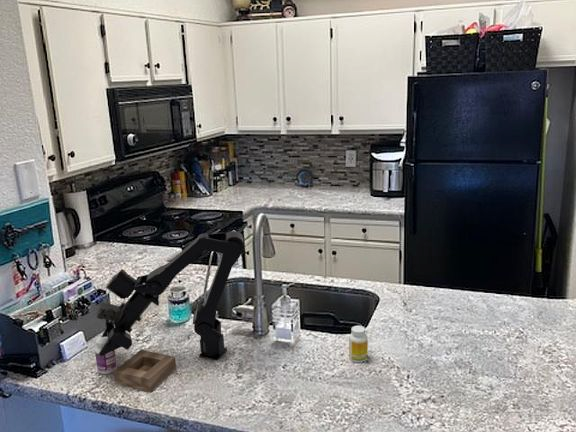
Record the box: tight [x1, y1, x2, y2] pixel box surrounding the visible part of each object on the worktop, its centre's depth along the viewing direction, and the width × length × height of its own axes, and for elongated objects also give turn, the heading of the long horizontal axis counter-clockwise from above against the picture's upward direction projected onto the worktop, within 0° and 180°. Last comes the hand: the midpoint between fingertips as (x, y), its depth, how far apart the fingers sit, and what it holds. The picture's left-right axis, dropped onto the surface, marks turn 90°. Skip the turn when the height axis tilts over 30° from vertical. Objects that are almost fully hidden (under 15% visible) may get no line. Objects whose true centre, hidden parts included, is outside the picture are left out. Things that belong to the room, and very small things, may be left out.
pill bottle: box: [94, 337, 118, 375], centre depth 151 cm, size 5×5×10 cm
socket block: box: [112, 349, 177, 393], centre depth 148 cm, size 12×12×4 cm
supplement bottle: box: [348, 325, 369, 363], centre depth 152 cm, size 5×5×10 cm
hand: (99, 350), depth 150 cm, fingers closed on pill bottle, 5 cm apart
